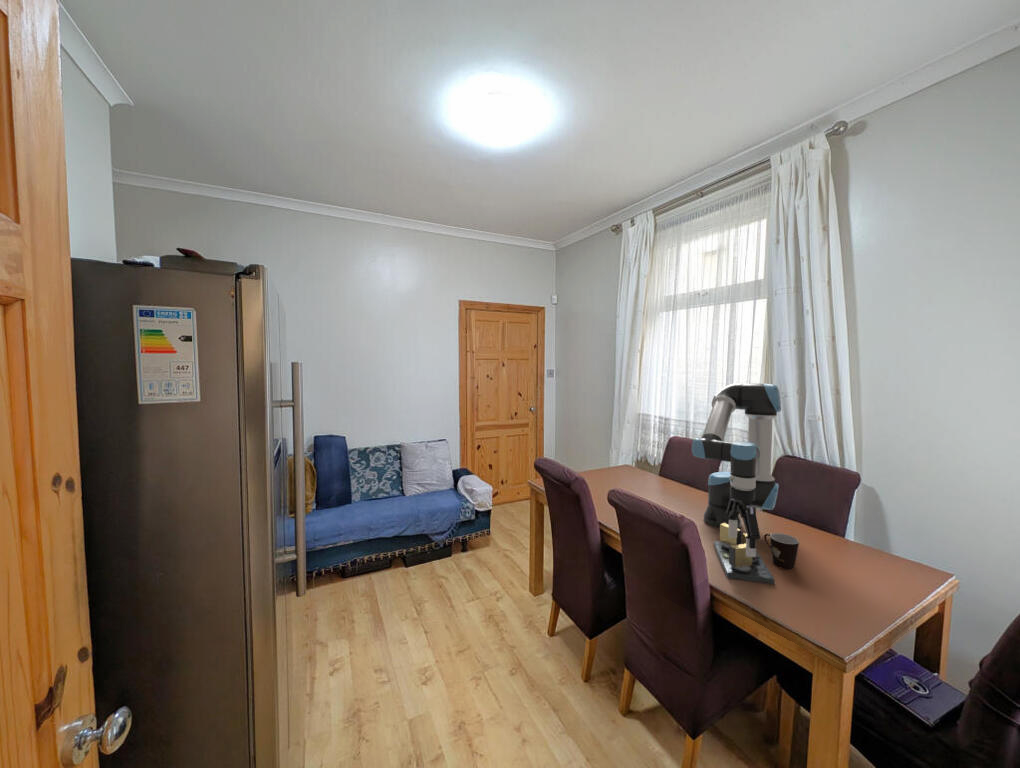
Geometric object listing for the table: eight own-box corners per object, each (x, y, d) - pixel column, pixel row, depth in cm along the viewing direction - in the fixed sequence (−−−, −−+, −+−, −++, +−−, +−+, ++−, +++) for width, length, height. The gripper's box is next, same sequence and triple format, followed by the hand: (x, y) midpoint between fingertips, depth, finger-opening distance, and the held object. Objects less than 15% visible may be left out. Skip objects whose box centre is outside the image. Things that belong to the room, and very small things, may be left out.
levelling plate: (713, 545, 155) (713, 539, 155) (753, 550, 151) (753, 544, 151) (727, 578, 132) (727, 571, 132) (774, 584, 128) (774, 577, 128)
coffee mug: (803, 572, 135) (804, 545, 134) (776, 570, 137) (776, 543, 136) (786, 555, 146) (787, 530, 146) (761, 554, 148) (762, 528, 147)
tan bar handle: (742, 562, 138) (743, 541, 138) (756, 571, 132) (756, 549, 132) (725, 565, 137) (725, 543, 136) (738, 574, 131) (738, 551, 130)
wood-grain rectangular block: (737, 552, 145) (737, 532, 144) (755, 555, 143) (755, 534, 142) (742, 562, 138) (742, 541, 137) (761, 565, 136) (762, 543, 136)
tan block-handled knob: (716, 544, 152) (716, 524, 151) (727, 541, 154) (727, 522, 153) (733, 552, 145) (734, 532, 144) (744, 549, 147) (744, 529, 147)
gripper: (716, 475, 145) (715, 530, 147) (748, 500, 121) (746, 564, 122) (737, 476, 144) (736, 530, 146) (773, 500, 120) (772, 566, 121)
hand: (741, 546), depth 134 cm, fingers open, 13 cm apart
